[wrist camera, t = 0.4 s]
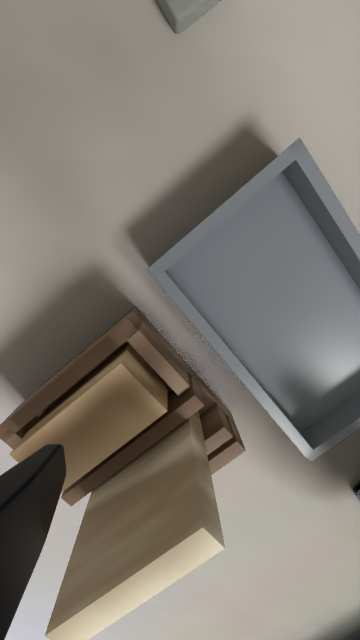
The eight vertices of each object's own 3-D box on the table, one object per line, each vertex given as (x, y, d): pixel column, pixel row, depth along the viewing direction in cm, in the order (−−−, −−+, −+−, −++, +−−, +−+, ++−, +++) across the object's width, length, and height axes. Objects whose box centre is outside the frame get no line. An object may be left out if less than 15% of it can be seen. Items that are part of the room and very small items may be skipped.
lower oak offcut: (167, 378, 20) (167, 392, 18) (80, 446, 21) (70, 468, 19) (131, 339, 19) (126, 349, 17) (43, 412, 20) (28, 431, 18)
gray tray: (407, 356, 22) (444, 371, 19) (292, 436, 23) (310, 462, 21) (278, 156, 18) (299, 137, 15) (149, 267, 20) (146, 269, 17)
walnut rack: (230, 412, 23) (245, 450, 18) (125, 490, 24) (115, 543, 20) (135, 306, 20) (126, 320, 16) (24, 400, 22) (-13, 437, 17)
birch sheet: (198, 411, 21) (225, 548, 11) (113, 476, 22) (69, 652, 12) (186, 398, 21) (202, 527, 11) (100, 464, 22) (44, 635, 12)
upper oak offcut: (167, 392, 18) (167, 411, 16) (70, 468, 19) (58, 495, 17) (126, 349, 17) (120, 363, 15) (28, 431, 18) (9, 454, 16)
